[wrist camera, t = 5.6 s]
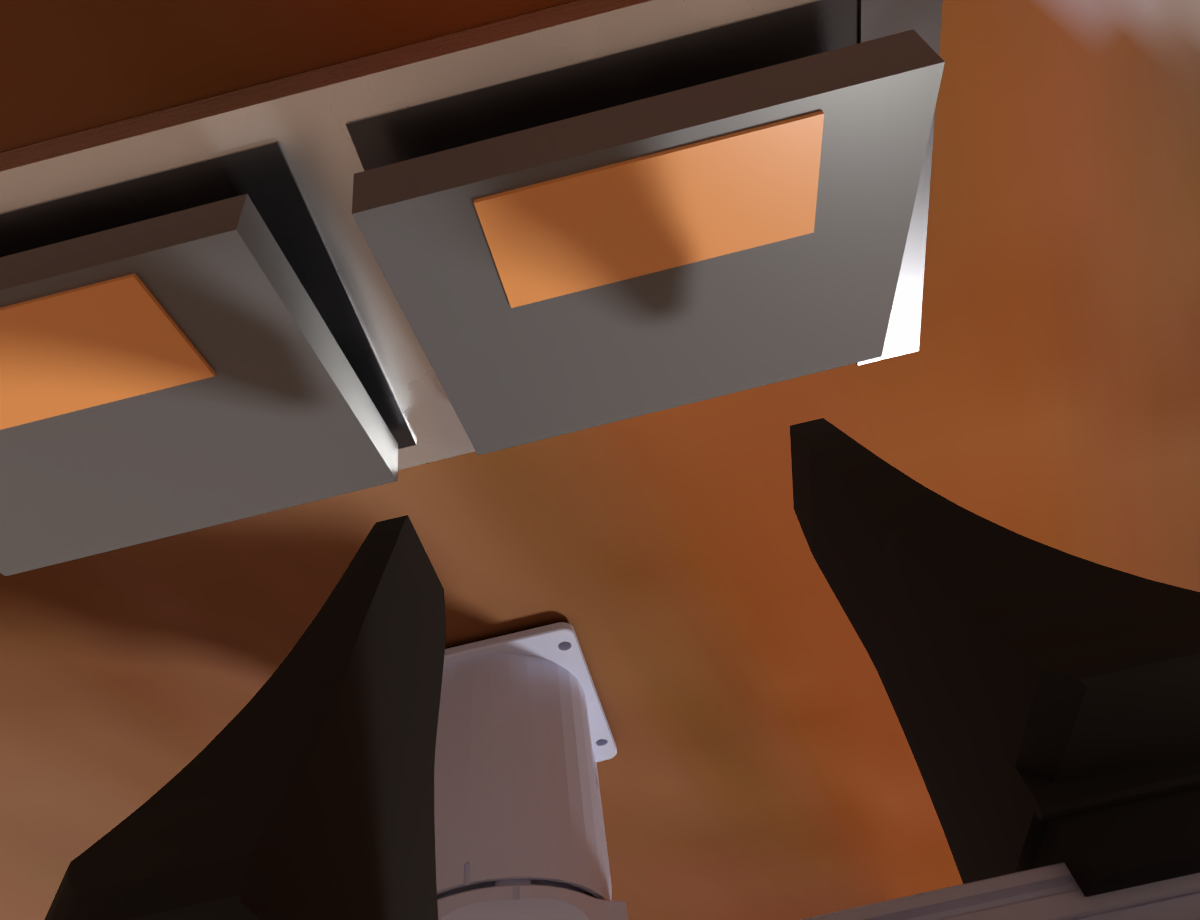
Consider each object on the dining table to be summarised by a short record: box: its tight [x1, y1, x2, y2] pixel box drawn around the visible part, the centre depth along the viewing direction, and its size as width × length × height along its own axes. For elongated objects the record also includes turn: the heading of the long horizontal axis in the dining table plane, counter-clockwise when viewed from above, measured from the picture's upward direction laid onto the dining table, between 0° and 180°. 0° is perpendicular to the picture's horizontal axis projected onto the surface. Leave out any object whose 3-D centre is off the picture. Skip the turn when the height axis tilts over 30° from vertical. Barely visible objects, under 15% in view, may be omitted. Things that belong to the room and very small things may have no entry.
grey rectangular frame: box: [352, 29, 945, 455], centre depth 15 cm, size 7×10×2 cm
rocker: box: [0, 194, 398, 576], centre depth 16 cm, size 7×10×2 cm
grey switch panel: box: [0, 0, 942, 470], centre depth 18 cm, size 9×37×3 cm, turn 102°
